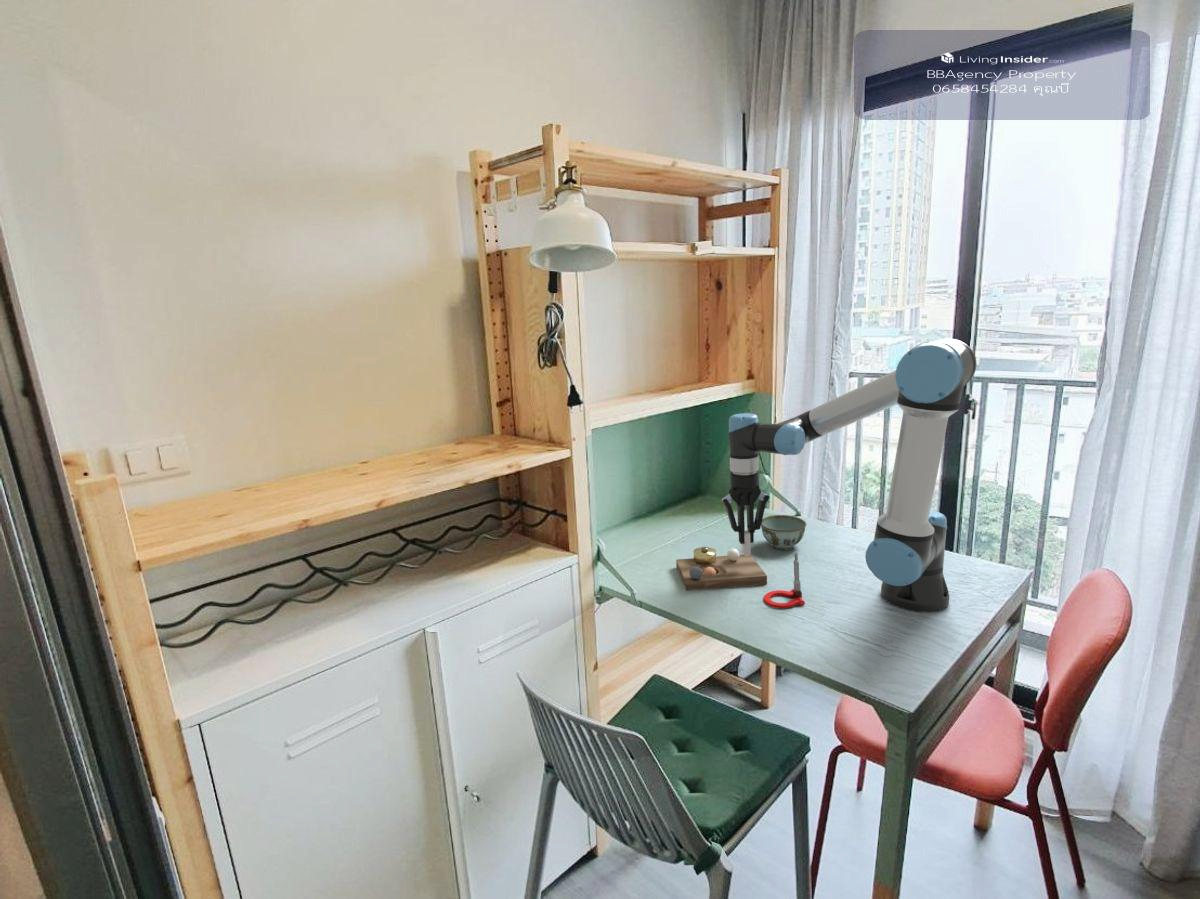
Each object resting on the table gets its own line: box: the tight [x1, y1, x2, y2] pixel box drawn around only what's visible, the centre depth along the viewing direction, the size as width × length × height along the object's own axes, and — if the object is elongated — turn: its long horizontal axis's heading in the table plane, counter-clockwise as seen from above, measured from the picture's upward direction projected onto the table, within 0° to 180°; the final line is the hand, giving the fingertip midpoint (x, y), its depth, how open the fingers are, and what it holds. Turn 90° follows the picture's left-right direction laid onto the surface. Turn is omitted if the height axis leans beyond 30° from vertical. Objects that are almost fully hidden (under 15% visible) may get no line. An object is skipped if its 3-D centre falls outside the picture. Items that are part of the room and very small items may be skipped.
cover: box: [693, 546, 717, 564], centre depth 174 cm, size 6×6×4 cm
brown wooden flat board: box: [675, 554, 768, 591], centre depth 169 cm, size 15×22×2 cm
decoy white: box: [726, 547, 741, 561], centre depth 173 cm, size 4×4×4 cm
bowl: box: [760, 514, 807, 551], centre depth 186 cm, size 14×13×8 cm
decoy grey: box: [689, 566, 702, 579], centre depth 163 cm, size 4×4×4 cm
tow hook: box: [763, 552, 806, 609], centre depth 152 cm, size 8×13×9 cm
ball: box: [703, 567, 716, 575], centre depth 168 cm, size 4×4×4 cm
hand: (746, 553), depth 166 cm, fingers closed
